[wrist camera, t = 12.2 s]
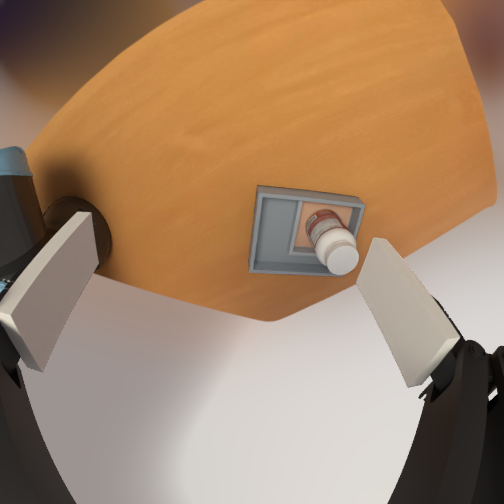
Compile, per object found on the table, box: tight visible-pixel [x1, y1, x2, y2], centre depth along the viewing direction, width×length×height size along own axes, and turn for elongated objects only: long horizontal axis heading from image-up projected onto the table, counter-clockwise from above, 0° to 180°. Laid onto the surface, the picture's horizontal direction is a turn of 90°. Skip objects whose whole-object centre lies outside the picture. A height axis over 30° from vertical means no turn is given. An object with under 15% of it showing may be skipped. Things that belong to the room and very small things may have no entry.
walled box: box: [248, 185, 365, 277], centre depth 46 cm, size 17×14×4 cm
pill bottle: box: [305, 208, 359, 275], centre depth 42 cm, size 6×6×11 cm
